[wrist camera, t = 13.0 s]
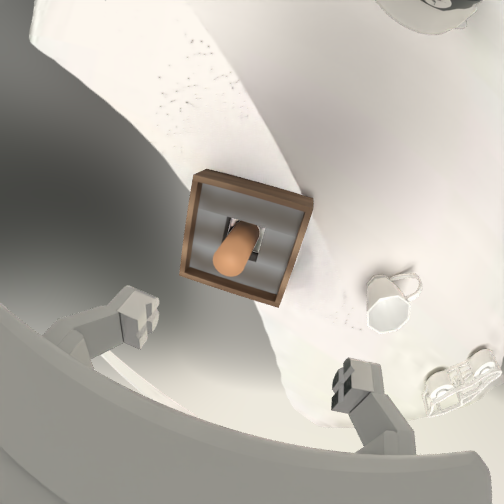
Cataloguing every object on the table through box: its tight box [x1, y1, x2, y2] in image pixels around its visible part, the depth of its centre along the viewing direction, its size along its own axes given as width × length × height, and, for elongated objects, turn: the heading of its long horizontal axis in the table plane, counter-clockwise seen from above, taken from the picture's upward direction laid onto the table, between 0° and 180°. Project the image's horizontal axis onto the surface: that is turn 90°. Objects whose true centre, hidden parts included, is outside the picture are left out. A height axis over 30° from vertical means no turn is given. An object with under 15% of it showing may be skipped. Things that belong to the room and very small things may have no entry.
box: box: [179, 169, 313, 308], centre depth 41 cm, size 16×16×5 cm
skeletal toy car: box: [422, 349, 502, 417], centre depth 43 cm, size 20×11×7 cm, turn 123°
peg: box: [213, 221, 259, 277], centre depth 38 cm, size 4×4×10 cm
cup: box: [367, 273, 422, 334], centre depth 38 cm, size 7×10×8 cm
